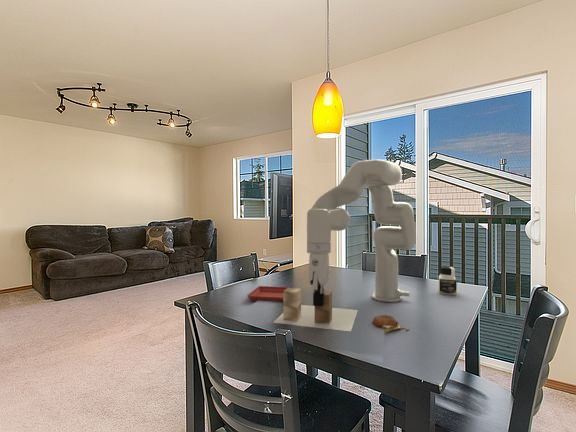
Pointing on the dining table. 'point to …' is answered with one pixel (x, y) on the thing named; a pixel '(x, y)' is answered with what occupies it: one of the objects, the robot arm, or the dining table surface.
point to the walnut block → (324, 310)
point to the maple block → (292, 304)
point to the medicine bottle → (447, 281)
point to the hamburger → (386, 323)
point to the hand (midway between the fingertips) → (318, 305)
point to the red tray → (267, 293)
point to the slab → (340, 321)
